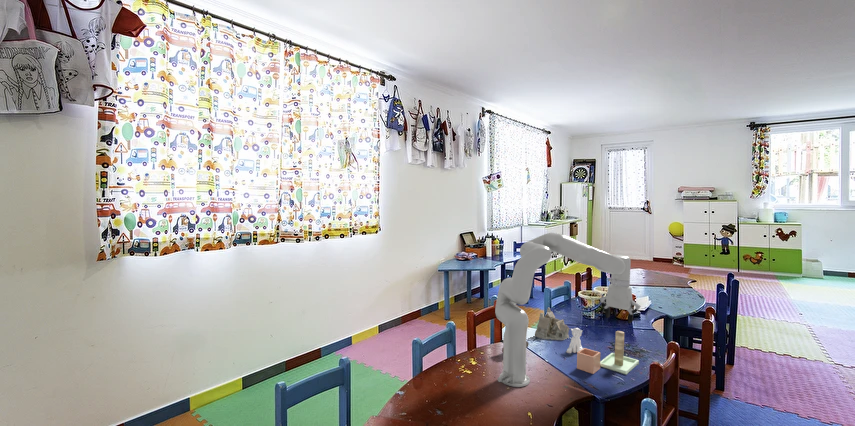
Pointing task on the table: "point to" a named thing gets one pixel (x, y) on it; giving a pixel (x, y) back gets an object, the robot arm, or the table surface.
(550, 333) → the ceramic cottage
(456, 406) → the table surface
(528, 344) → the figurine character
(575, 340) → the sitting furry creature
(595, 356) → the pink open box
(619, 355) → the dowel
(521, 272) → the robot arm
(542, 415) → the table surface
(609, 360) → the tray
